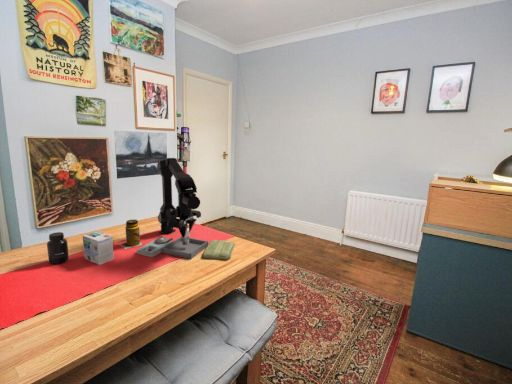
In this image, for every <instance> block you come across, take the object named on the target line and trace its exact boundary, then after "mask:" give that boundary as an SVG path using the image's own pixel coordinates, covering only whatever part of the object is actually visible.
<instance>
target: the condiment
mask: <svg viewBox="0 0 512 384" xmlns="http://www.w3.org/2000/svg"><path fill="white" fill-rule="evenodd" d="M140 233H141V232H140V225H139V221H138V219H129V220H126V221H125V237H126V238H125V240H126V242H122V243H121V242H120V243H119V245H120V246H121V247H122V248H123V249H124V250H126V249H131V248H133V247H138V246H144V244H143V243H142V242H141V236H140Z"/></svg>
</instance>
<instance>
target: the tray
mask: <svg viewBox="0 0 512 384" xmlns="http://www.w3.org/2000/svg"><path fill="white" fill-rule="evenodd" d="M189 240H190V244H189V245H183V244H182V235H181V236H180V237H178V238H176V239H175V240H172V241H171V243H170V244H168V245H166V246H164V247H163V248H162V252H161V254H165V255H171V256H175V257H180V258H184V259H189V260H192V259H193V258H194V257H196V256H197V255H198V254H200V253H201V252H202V251H203V250H205V249H206V248H207V246H208V245H209V241H208V240H205V239H204V240H203V239H197V238H193V237H189Z"/></svg>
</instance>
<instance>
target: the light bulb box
mask: <svg viewBox="0 0 512 384" xmlns="http://www.w3.org/2000/svg"><path fill="white" fill-rule="evenodd" d="M82 241H83V242H82V243H83V250H84V251H83V252H84V259H85V260H88V261H89V262H91V263H94V264H95V265H99V266H100V265H103V264H104V263H107V262H110V261H112V260H114V259H115V255H114V243H113V235H111V234H107V233H104V232H101V231H98V230H96V231H93V232H90V233H87V234H83V235H82Z"/></svg>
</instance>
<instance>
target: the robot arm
mask: <svg viewBox="0 0 512 384" xmlns="http://www.w3.org/2000/svg"><path fill="white" fill-rule="evenodd" d="M156 167H157V170H158V173H159V175H160V176H161V181H162V182H161V183H162V205H161V207H160V208H159V214H158V216H157V221H158V223H159V224H160V231H158V233H160V234H165V235H170V234H172V233H174V232H176V230H177V229H178V230H179V233H180V235H181V236H182V237H185V234H186V230H187V226H188V224H186V223H189V234H190V233H191V231H192V229H193V227H194V225H195V223H196V222H197V219H199V218H201V217H202V212H201V211H200V210H197V209H199V207H200V205H201V200H200V198H199V197H198V196H197V194H196V193H198V191H197V189H198V188H197V186H196V182H195V180H194V179H193V177H191V175H190V174H188V173H186V172H185V171H184V169H183V168H182V167H181V165H180V163H179V162H178V159H177V158H176V157H167V158H165V159H162V160H159V161H158V162H157V164H156ZM173 177H174V179H175V181H174V186H175V188H176V190H177V194H178V195H177V196H178V197H177V198H178V205H176V207H175V206H174V204H173V188H172V187H173V186H172V184H173V183H172V178H173ZM195 217H196V218H195ZM174 228H175V229H174Z"/></svg>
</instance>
